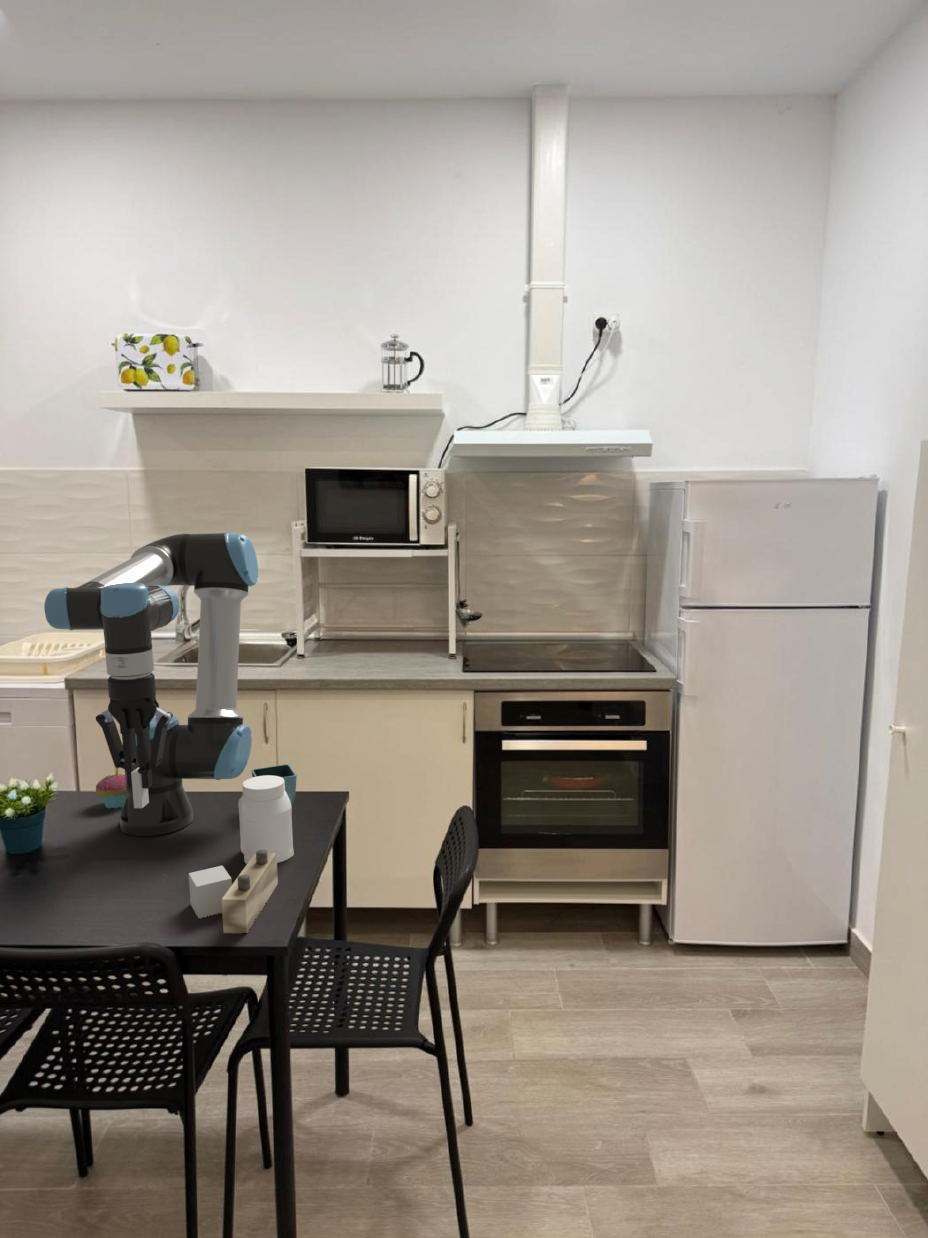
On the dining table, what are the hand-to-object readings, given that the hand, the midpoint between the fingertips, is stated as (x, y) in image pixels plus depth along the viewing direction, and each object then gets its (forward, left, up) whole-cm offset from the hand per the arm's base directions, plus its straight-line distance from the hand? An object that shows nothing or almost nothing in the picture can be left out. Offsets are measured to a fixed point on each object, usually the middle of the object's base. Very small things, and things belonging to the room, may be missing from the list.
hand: (141, 805), depth 150 cm
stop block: (+19, 0, -18) cm, 26 cm away
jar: (+15, +22, -19) cm, 32 cm away
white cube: (+12, -1, -19) cm, 22 cm away
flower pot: (+10, +45, -19) cm, 49 cm away
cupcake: (-28, +46, -19) cm, 57 cm away
